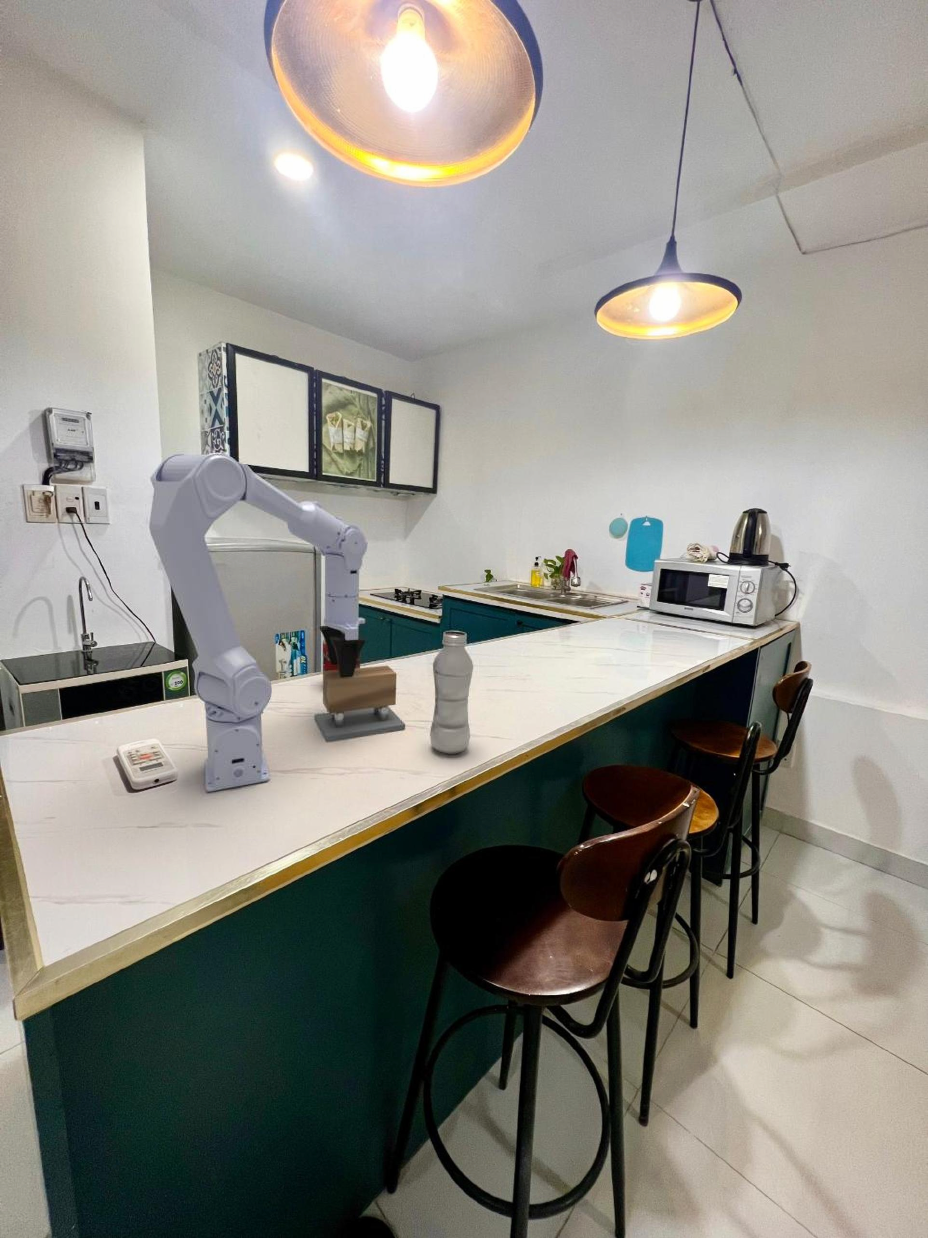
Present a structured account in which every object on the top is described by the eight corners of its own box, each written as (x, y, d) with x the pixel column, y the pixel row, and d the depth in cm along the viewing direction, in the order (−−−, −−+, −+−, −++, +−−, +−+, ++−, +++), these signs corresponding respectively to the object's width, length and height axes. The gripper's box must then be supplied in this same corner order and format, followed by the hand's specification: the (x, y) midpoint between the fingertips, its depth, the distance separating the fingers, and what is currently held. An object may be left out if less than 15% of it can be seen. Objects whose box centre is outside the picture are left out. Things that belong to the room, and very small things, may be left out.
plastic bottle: (465, 761, 78) (472, 640, 74) (424, 755, 79) (429, 635, 75) (472, 744, 84) (479, 631, 80) (434, 738, 85) (439, 627, 81)
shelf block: (395, 704, 89) (396, 673, 88) (329, 713, 84) (329, 680, 82) (386, 695, 93) (387, 665, 92) (322, 703, 88) (322, 671, 87)
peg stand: (405, 729, 88) (405, 708, 88) (326, 742, 82) (326, 719, 81) (386, 709, 97) (387, 690, 96) (314, 719, 90) (314, 699, 90)
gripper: (377, 601, 80) (375, 680, 83) (353, 588, 93) (352, 657, 95) (333, 602, 77) (333, 684, 79) (315, 588, 89) (315, 660, 92)
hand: (341, 670), depth 87 cm, fingers open, 7 cm apart
